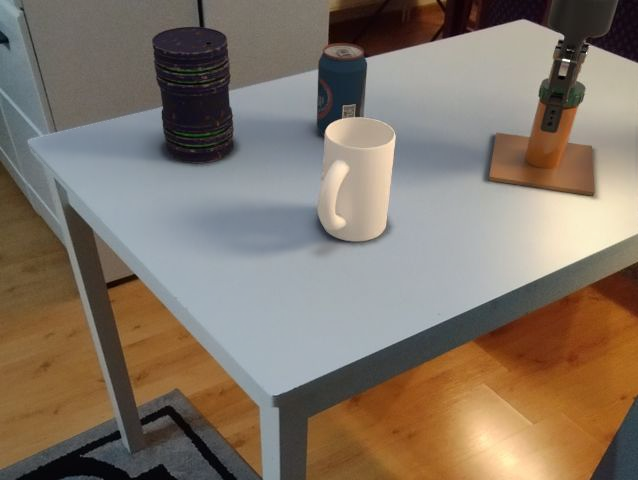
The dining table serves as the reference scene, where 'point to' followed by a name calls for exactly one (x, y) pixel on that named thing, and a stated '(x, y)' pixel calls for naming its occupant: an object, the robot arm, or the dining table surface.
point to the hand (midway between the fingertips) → (552, 120)
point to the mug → (356, 178)
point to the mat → (566, 177)
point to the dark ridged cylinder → (194, 93)
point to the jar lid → (573, 97)
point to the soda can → (340, 84)
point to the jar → (549, 139)
